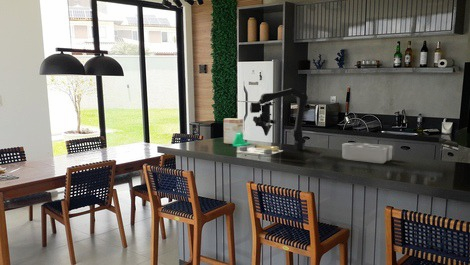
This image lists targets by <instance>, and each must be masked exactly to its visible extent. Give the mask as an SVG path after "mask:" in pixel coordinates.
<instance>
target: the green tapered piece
mask: <svg viewBox="0 0 470 265" xmlns="http://www.w3.org/2000/svg"><path fill="white" fill-rule="evenodd" d="M251 143H252V142H251ZM251 143H250V142H247V141H246V142H245V139H244V132H243V133H237V134H236V137H235V140H234V142H233V144H232V147H236V148H238V147H239V148H240V147H241V146H248V145H252V144H251Z"/></svg>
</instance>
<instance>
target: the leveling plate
mask: <svg viewBox="0 0 470 265" xmlns="http://www.w3.org/2000/svg"><path fill="white" fill-rule="evenodd" d="M281 152H283V149H282V150H280V149H279V151H272V149H259V148H255V147H248V145H244V146H240V147H239V150H236V152H235V154H236V155H237V154H238V155H242V153H244V155H246V156H247V155H249V156H252V154H253V156H255V157H261V155H263V157H264V158H270V156H271V155H274V154H277V153H281ZM267 155H268V156H267Z"/></svg>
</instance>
